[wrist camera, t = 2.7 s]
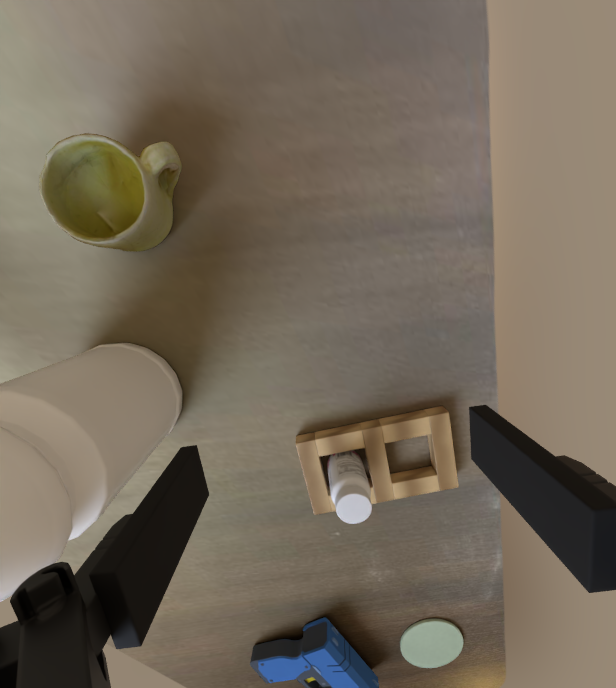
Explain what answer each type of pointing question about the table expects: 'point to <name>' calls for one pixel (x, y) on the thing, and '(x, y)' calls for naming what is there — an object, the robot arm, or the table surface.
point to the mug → (110, 191)
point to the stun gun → (313, 660)
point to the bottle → (75, 447)
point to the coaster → (431, 643)
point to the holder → (382, 456)
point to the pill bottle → (349, 487)
